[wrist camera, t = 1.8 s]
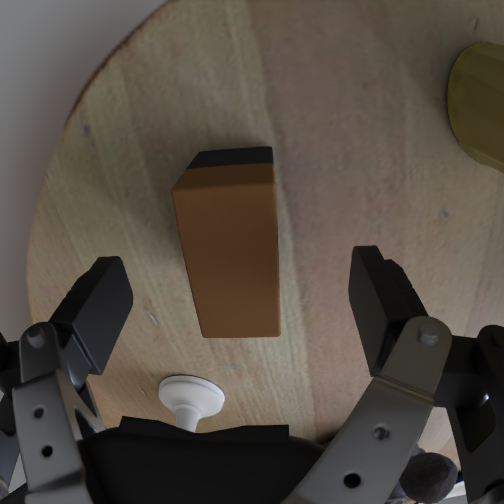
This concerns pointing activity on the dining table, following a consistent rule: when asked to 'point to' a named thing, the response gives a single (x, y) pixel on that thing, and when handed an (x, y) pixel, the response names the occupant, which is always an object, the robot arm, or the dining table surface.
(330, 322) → the dining table surface
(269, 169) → the eraser
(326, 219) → the dining table surface
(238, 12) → the dining table surface
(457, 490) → the plate
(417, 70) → the dining table surface
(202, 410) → the chess piece
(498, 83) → the vase
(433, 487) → the teapot
